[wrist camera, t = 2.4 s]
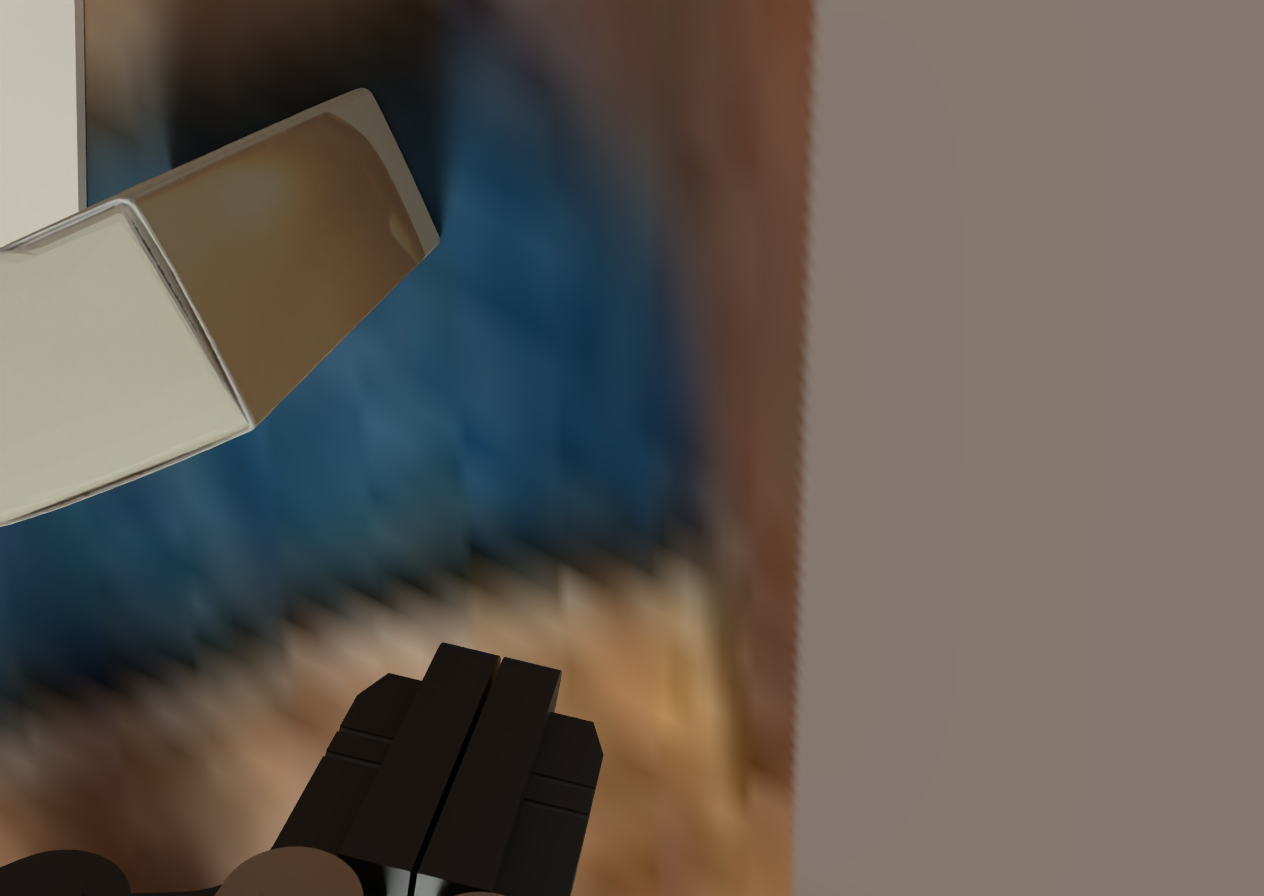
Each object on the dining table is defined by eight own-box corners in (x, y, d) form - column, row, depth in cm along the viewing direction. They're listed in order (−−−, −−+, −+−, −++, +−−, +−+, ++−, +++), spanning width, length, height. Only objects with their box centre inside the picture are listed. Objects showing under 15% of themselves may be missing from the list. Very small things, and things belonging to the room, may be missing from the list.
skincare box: (249, 322, 32) (-37, 548, 21) (165, 171, 31) (-189, 332, 20) (457, 239, 30) (262, 439, 20) (379, 75, 29) (120, 192, 18)
